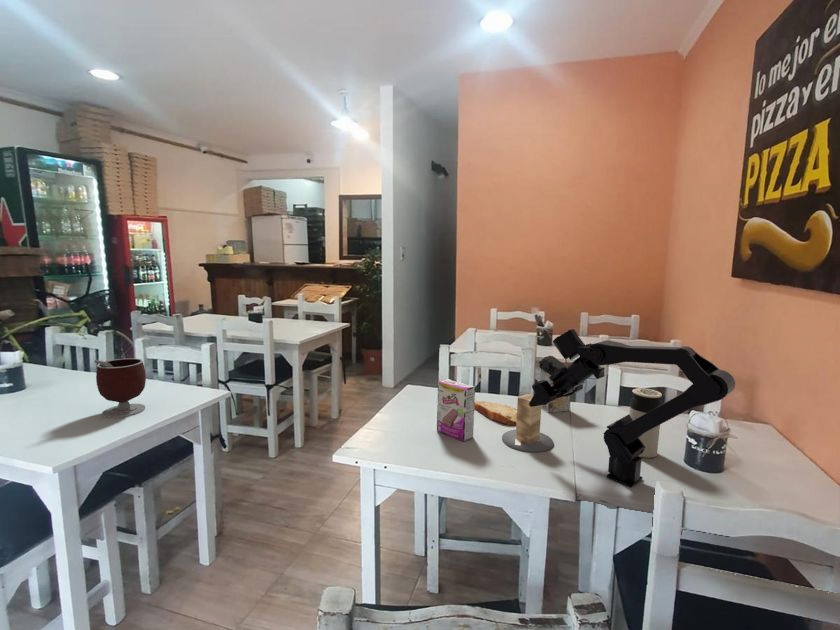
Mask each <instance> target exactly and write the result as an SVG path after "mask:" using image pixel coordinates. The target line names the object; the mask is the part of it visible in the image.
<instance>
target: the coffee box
mask: <svg viewBox="0 0 840 630" xmlns="http://www.w3.org/2000/svg"><path fill="white" fill-rule="evenodd" d="M564 365H565V364H564ZM565 366H566V367H567V366H568V365H565ZM550 376H551V375H550V374H548V373H547V372H545V371H543V370H542V369H541V368H540V380H539V381H541V380H546V381H548V383H549V384H550V385H551V386H554V385H553V381H551V379H550V378H549V377H550ZM570 409H571V395H569V396H565V397H560V398H557V399H556V400H555V401H553V402H551V403H550V404H547V405H541V410H542V411H544V412H546V413H548V414H549V413H558V412H559V413H560V412H567V411H568V412H569V411H571V410H570Z"/></svg>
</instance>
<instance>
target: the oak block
mask: <svg viewBox="0 0 840 630" xmlns="http://www.w3.org/2000/svg"><path fill="white" fill-rule="evenodd" d="M533 396H534V394H533V395H532V394H530V393H526V394H523V395H521V396H520V395H519V396H518V397H517V403H516V404H517V406H516V407H517V408H516V409H517V422H516V426H515V430H516V439H518V440H520V441H523V442H525V443H528V444H531V443H533V442H535V441H538V440H539V438H540V433H541V420H542V419H541V417H542V409H541V405H540V406H534V407H530V405H529V402H530V401H531V399H532V397H533Z"/></svg>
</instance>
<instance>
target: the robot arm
mask: <svg viewBox="0 0 840 630" xmlns="http://www.w3.org/2000/svg"><path fill="white" fill-rule="evenodd" d="M552 344H553V346H554V347H555V348H556V349H557V351H558V352H559V354H560V355H561V356H562V358H563V359H564V360H568V359H569V361H572V362H571V363H569V364H568V365H566V366H567V367H566V366H565V364H564V363H563V362H562V361H560V360H559V359H558V358H556V357H555V356H552V355H548V356H544V357H543V358H542V359H541V360H539V361H538V364H539V366H538V367H539V369H540V370H541V369H542V370H543V371H545V372H547V373H548V374H550V375H551V376H550V377H549V378H550V379H551V381H553V385H554V386H551V385H550V384H549V383H548V381H546V380H541V381H540V380H537V381H535V382H534V383H533V384H532V385H531V389H532V390H533V391H534V394H533V397H532V399H531V401H530V402H529V405H530V407H534V406H540V405H547V404H550V403H551V402H553V401H555V400H556V399H557V398H560V397H565V396H569V395H570V396H572V395H574V394H577V393H579V392H580V391H582V390H583V389H584V383H585V381H586V380H588V379H589V378H591V377H592V376H594V377H595V379H596V380H599V379H601V378H605V376H606V375H605V367H602V366H607V365H609V366H610V365H614V364H615V365H616V364H620V363H635V364H636V363H638V364H639V363H640V364H657V365H658V364H659V365H673V366H674V365H675V366H677V367H678V368H679V369H680V370H681V372H682V373H683V374H684V375H685V376H686V379H688V381H690V382H691V383H692V384H691V385H690V386H689V387H687V388H686V389H685V390H684V391H683V392H682V393H680V394H679V395H676V396H675V397H673V398H671V399H669V400H668V401H665V402H664V403H661V405H660V406H658V407H656V408H655V409H653V410H651V411H649V412H647V413H646V414H644V415H642V416H640V417H638V418H634V419H632V418H631V417H630V415H629V413H628V414H627V415H625V416H623V417H622V418H620V419H618V420H616V421H614V422H612V423H610V424H608V425H607V426H606V428H607V429H606V430H604V432H603V440H604V443H605V446H606V448H607V450H608V454H609V458H608V468H607V472H608V473H607V474H606V476H607V477H606V478H608V477H609V478H608V479H610V478H612V479H611V480H613V479H614V480H613V481H615V480H617V481H618V483H620V482H621V483H620V484H622V483H623V485H625V484H626V485H625V486H627V485H628V487H630V488H633V487H634V486H635V485H637V484H638V483H640V482H641V481H642V480H643V476H641V469H642V458H643V457H639V455H640V454H642V453H643V451H644V450H645V448H646V447H645V446H644V444H643V443H642V442H641V440H640V439H639V437H641V436H642V435H643V434H644V433H645V432H647V431H649V430H651V429H652V428H654V427H656V426H658V425H660V426H661V424H663V423H665V422H668V421H670V420H672V419H673V418H675V417H678V416H679V415H681V414H683V413H685V412H688V410H689V411H690V410H691V409H692V408H696V407H700V406H701V407H702V406H705V405H708V404H712V403H716V402H718V401H721V400H723V399H724V398H725V397H727V396H728V395H730V394H731V393H732V392H733V391H734V390H735V387H736V381H735V380H736V379H735V378H734V377H733V375H732V374H731V373H729V372H728V371H726V370H724V369H720V368H719V367H717V366H716V364H714V363H713V362H712V361H710V360H708V359H706V358H705V357H703V356H702V355H700V354H699V353H698V352H697V351H696V350H694V349H693V348H692V347H690V346H686V345H684V346H680V347H679V346H653V345H651V346H646V345H629V344H626V343H622V342H618V341H614V340H607V339H606V340H602V341H599V342H598V341H597V342H595V343H587V344H585V343H584V341H583V340H582V339H581V337H580V336H579V334H578V333H577V331H576V330H575V329H574V328H571V329H568V330H566V331H565V332H563V333H562V334H560V335H559V336H556V337H555V338H554V339H553V340H552ZM617 481H616V482H617ZM632 486H633V487H632Z"/></svg>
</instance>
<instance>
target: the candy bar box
mask: <svg viewBox="0 0 840 630" xmlns="http://www.w3.org/2000/svg"><path fill="white" fill-rule="evenodd" d="M475 396H476V386H475V385H471V384H468V383H467V384H466V383H463V382H460V381H456V380H453V379H449V378H445V379H441V380H439V381H437V406H436V407H437V409H436V410H437V413H436V415H437V416H436V432H438V433H441V434H444V435H446V436H449V437H452V438H454V439H457V440H458V441H462V442H466V441H468V440H470V439H473V438H474V424H475V423H474V422H475V420H474V419H475V409H474V402H475V400H476V399H475Z"/></svg>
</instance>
